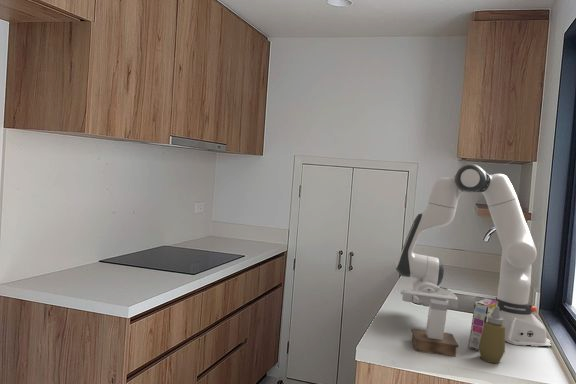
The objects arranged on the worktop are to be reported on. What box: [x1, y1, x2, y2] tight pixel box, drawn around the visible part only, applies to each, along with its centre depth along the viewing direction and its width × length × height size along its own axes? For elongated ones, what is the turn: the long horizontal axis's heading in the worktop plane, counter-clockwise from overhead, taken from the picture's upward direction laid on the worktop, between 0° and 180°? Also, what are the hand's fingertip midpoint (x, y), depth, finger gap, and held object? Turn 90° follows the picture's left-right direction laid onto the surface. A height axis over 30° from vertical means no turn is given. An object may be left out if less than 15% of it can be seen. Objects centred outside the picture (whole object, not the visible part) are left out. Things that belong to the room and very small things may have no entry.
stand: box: [411, 327, 459, 357], centre depth 180 cm, size 14×12×4 cm
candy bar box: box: [468, 298, 498, 352], centre depth 186 cm, size 11×5×16 cm, turn 141°
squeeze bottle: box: [479, 306, 506, 364], centre depth 173 cm, size 8×8×18 cm
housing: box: [425, 299, 449, 340], centre depth 179 cm, size 5×5×12 cm
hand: (432, 303), depth 190 cm, fingers open, 8 cm apart
